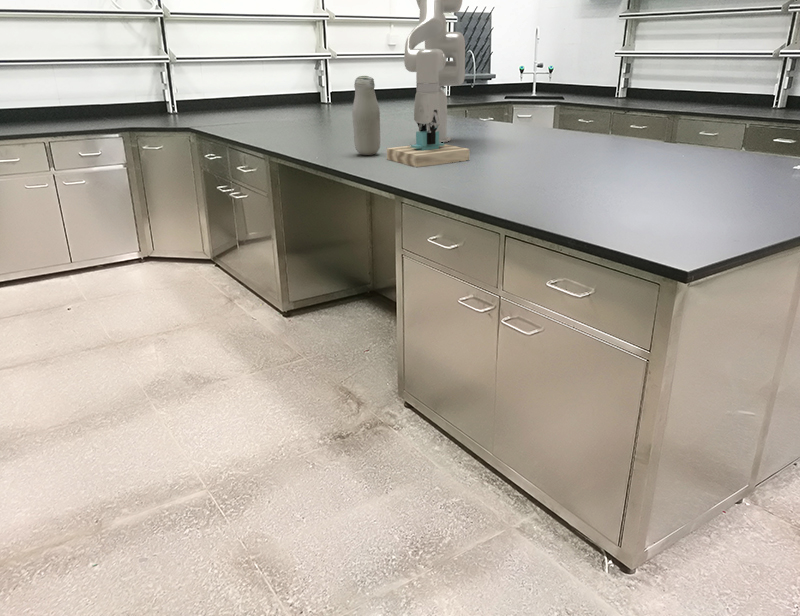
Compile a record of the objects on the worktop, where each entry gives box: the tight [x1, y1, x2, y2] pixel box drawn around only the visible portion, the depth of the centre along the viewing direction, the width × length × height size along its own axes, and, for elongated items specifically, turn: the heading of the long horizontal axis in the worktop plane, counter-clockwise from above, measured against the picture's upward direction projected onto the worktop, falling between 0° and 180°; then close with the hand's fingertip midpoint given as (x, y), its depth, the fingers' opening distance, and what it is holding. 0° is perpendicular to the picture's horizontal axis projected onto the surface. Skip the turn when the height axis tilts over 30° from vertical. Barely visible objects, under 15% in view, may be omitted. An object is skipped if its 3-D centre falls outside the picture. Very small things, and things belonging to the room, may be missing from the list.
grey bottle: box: [351, 75, 381, 156], centre depth 231 cm, size 10×10×28 cm
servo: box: [410, 130, 445, 151], centre depth 221 cm, size 4×12×10 cm, turn 121°
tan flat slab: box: [386, 143, 471, 168], centre depth 223 cm, size 20×22×4 cm
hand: (427, 142), depth 221 cm, fingers closed on servo, 4 cm apart
